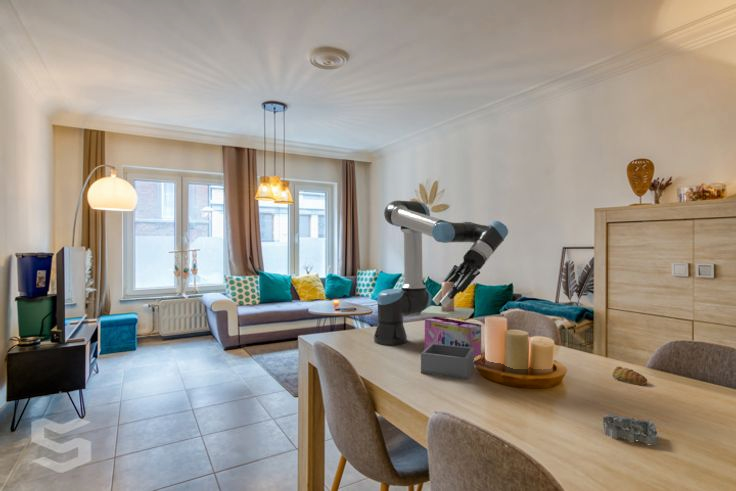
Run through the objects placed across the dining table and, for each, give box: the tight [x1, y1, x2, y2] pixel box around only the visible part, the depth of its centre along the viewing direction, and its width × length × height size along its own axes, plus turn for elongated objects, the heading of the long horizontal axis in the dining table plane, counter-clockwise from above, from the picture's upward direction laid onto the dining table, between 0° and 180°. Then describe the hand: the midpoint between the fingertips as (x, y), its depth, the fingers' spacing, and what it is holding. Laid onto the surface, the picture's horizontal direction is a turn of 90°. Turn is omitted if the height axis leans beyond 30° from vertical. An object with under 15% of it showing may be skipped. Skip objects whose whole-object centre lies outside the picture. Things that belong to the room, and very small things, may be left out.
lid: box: [420, 282, 475, 320], centre depth 139 cm, size 14×16×11 cm
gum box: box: [424, 316, 482, 358], centre depth 158 cm, size 24×8×14 cm, turn 43°
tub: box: [420, 343, 475, 380], centre depth 140 cm, size 14×16×7 cm
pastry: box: [612, 365, 648, 386], centre depth 129 cm, size 9×7×4 cm
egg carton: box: [602, 413, 659, 446], centre depth 93 cm, size 11×8×4 cm
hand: (438, 303), depth 138 cm, fingers closed on lid, 4 cm apart
